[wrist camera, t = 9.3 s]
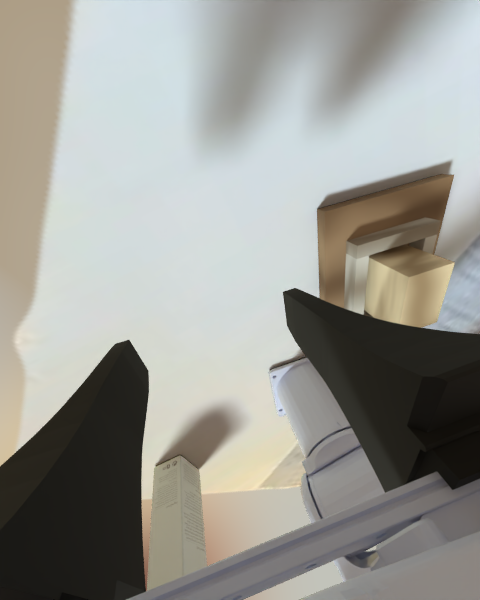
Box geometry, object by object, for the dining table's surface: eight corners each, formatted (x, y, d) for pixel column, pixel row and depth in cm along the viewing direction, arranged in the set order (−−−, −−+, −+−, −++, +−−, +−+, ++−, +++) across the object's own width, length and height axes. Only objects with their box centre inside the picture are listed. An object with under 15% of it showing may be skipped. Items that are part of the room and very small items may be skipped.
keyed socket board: (409, 315, 30) (429, 328, 28) (321, 345, 29) (334, 361, 26) (440, 174, 21) (473, 175, 19) (317, 209, 20) (335, 215, 18)
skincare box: (152, 466, 33) (144, 600, 23) (180, 453, 33) (183, 581, 23) (175, 481, 36) (175, 604, 26) (200, 469, 36) (210, 587, 26)
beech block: (402, 243, 23) (454, 262, 18) (394, 295, 26) (436, 322, 22) (364, 255, 22) (408, 277, 18) (360, 307, 26) (397, 335, 21)
